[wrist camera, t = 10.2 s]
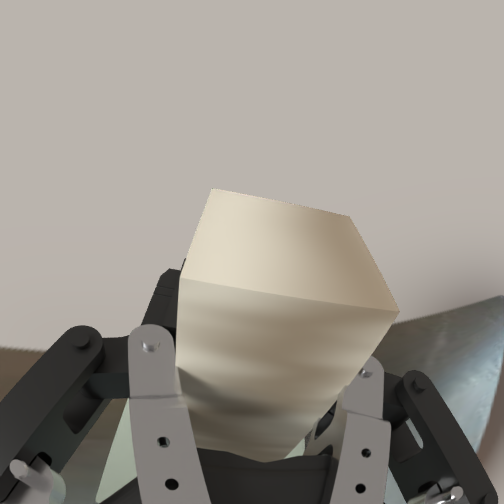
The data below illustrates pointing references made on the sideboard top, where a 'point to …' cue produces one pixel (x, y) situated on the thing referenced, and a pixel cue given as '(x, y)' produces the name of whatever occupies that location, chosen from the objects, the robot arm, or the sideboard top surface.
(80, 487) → the sideboard top surface
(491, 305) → the sideboard top surface
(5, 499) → the robot arm
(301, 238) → the maple block
